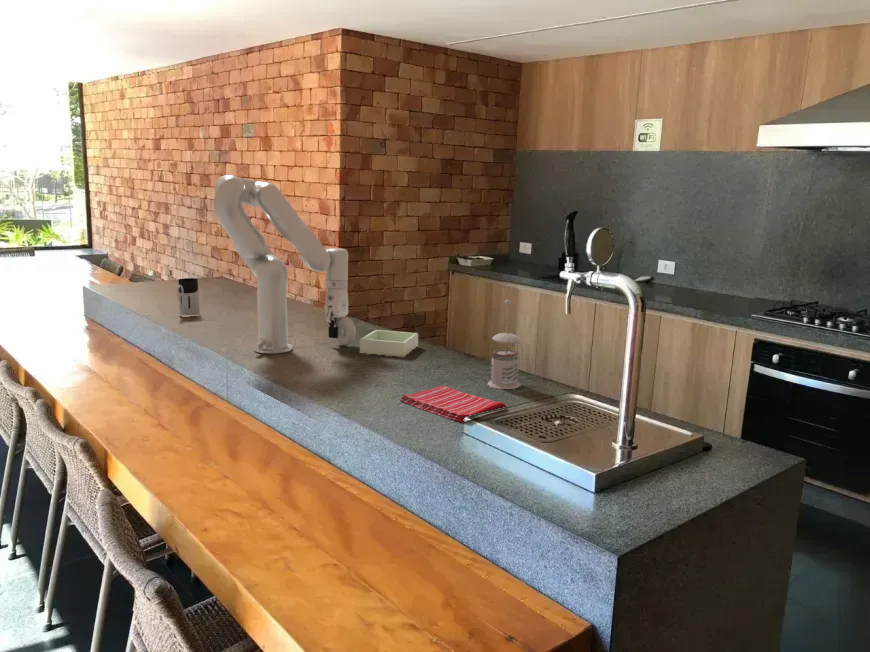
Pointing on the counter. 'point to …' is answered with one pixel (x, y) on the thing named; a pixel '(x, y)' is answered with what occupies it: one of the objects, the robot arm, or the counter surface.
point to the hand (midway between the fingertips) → (335, 335)
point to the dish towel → (450, 403)
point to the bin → (389, 343)
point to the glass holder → (188, 296)
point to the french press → (505, 361)
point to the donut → (350, 331)
